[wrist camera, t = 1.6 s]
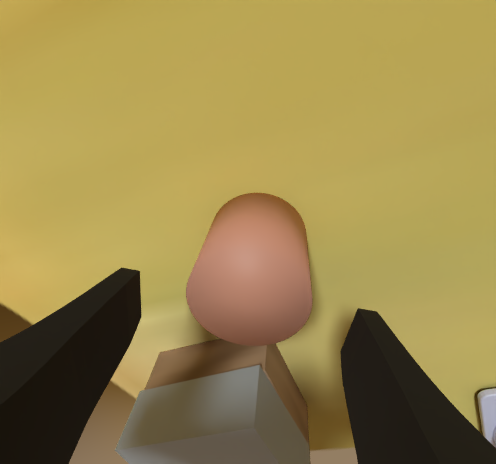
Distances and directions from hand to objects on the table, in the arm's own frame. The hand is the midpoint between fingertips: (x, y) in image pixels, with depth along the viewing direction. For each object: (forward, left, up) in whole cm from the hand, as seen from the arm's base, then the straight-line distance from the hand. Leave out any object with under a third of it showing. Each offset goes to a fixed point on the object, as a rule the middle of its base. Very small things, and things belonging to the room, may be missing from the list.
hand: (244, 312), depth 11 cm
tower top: (+5, +9, -2) cm, 10 cm away
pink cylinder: (0, 0, -5) cm, 5 cm away
